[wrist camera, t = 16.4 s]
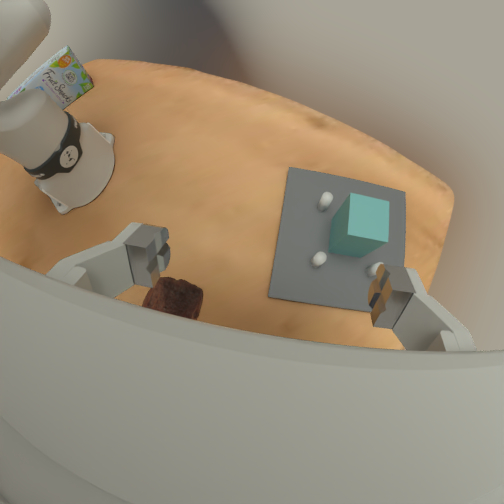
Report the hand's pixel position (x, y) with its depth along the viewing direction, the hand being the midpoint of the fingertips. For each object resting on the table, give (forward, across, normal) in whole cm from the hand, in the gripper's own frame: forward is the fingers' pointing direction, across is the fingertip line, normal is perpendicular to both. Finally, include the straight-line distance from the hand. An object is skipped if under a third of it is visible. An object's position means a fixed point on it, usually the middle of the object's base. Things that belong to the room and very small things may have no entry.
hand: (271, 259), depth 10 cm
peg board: (+28, -10, +14) cm, 32 cm away
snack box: (+47, +61, -5) cm, 77 cm away
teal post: (+26, -10, +13) cm, 31 cm away
